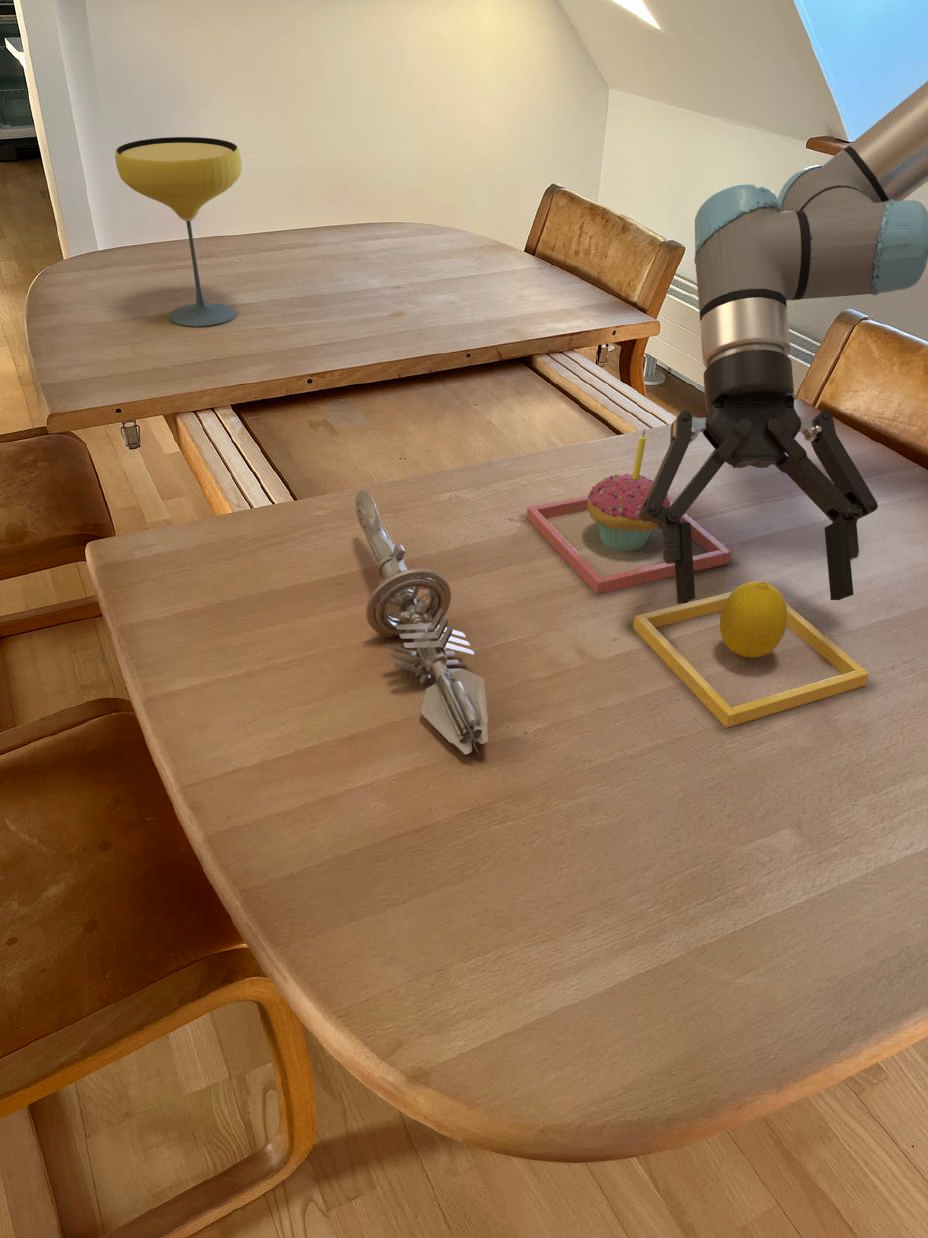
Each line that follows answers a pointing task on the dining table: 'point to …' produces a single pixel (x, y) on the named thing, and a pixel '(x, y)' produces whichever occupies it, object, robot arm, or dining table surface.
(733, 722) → the yellow square frame
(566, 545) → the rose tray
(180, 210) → the cocktail glass
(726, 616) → the lemon
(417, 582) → the spaceship
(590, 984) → the dining table surface
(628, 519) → the cupcake
